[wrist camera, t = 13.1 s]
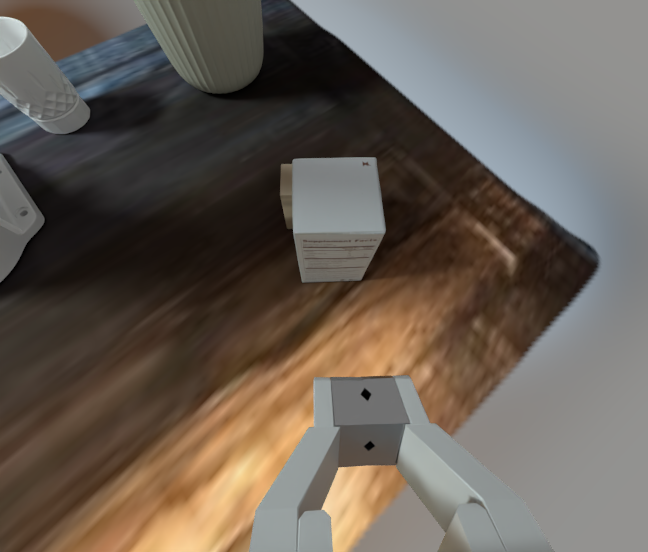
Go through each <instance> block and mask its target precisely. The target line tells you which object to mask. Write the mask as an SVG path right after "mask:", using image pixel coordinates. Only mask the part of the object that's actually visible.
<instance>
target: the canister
mask: <svg viewBox="0 0 648 552" xmlns="http://www.w3.org/2000/svg"><path fill="white" fill-rule="evenodd" d="M134 2H135V4H136V5H137V7H138V9H139V10H140V12H141V14H142V16H143V17H144V19H145V21H146V22H147V24H148V26H149V27H150V29H151V31H152V32H153V34H154V36H155V37H156V39H157V41H158V42H159V44H160V46H161V47H162V49H163V50H164V52H165V54H166V55H167V57H168V58H169V60H170V62H171V63H172V65H173V66H174V68H175V69H176V70H177V72H178V73H179V75H180V76H181V77H182V78H183V79H184V80H185V81H186V82H187V83H188V84H190V85H192V86H193V87H195V88H196V89H199V90H201V91H205V92H207V93H213V94H215V93H218V94H221V93H225V94H226V93H229V92H231V93H232V92H234V91H238V90H239V89H243V88H244V87H245V86H248V85H249V84H250V83H252V82H253V80H254V79H255V78H256V77H257V75H258V74H259V72H260V69H261V67H262V62H263V52H264V51H263V27H262V10H261V0H134Z"/></svg>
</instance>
